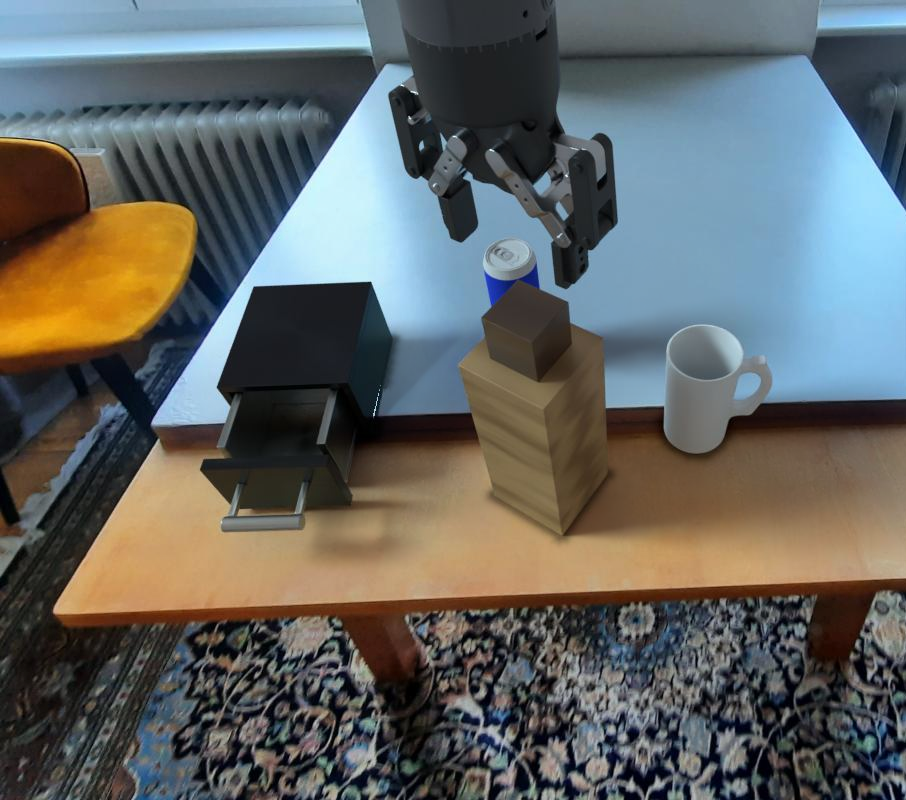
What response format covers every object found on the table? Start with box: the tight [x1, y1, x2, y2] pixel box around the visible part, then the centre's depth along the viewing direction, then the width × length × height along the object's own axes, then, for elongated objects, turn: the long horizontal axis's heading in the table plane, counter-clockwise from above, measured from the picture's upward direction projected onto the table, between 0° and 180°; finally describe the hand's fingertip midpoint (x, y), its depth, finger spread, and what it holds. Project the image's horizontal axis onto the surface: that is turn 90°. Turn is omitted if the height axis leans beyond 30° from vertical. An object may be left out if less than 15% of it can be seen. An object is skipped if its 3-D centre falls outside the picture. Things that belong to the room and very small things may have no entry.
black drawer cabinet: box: [216, 281, 394, 438], centre depth 77 cm, size 14×13×9 cm
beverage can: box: [482, 237, 541, 308], centre depth 76 cm, size 5×5×15 cm
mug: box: [663, 323, 773, 454], centre depth 70 cm, size 10×7×12 cm, turn 89°
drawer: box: [199, 388, 360, 534], centre depth 70 cm, size 17×11×7 cm, turn 0°
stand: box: [457, 322, 609, 536], centre depth 64 cm, size 8×8×20 cm
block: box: [480, 280, 572, 382], centre depth 54 cm, size 4×4×4 cm
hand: (516, 256), depth 48 cm, fingers open, 8 cm apart
